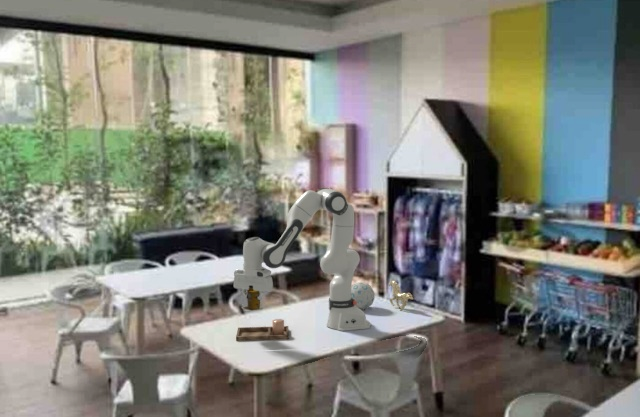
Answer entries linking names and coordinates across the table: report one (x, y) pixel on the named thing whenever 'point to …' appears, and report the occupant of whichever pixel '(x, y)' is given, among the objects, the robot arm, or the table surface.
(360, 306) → the puzzle ball
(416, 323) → the table surface
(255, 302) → the condiment
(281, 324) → the beige cylinder
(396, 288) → the golden horse figurine
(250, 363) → the table surface
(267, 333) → the caddy
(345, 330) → the robot arm
